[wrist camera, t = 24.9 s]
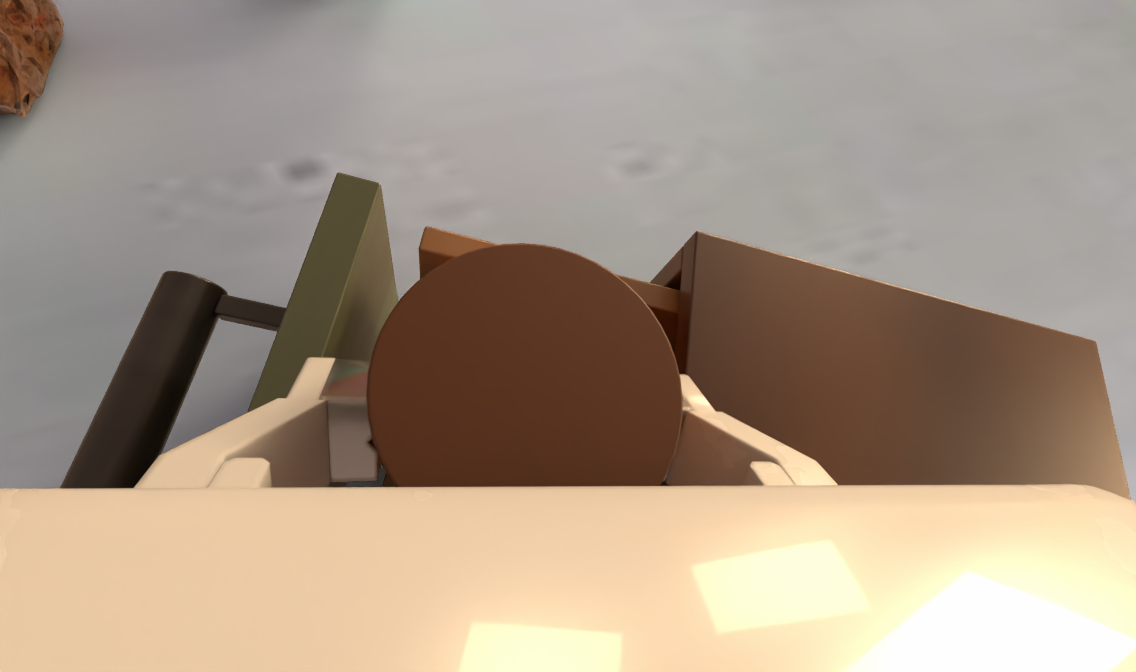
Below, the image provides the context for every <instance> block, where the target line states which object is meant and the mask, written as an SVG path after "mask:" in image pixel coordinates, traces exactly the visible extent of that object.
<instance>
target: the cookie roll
mask: <svg viewBox="0 0 1136 672" xmlns="http://www.w3.org/2000/svg"><path fill="white" fill-rule="evenodd" d="M366 402H367V417H368V422H369V427H370V432H371V437H372V440H373V443H374V446H375V448H376V451H377V454H378V457H379V460H380V462H381V463H382V465H383V467H384V469H385V471H386V473H387V475H388V477H389V479H390V480H391V482H392V483H393V485H394V486H395V487H549V486H660V485H661V483H662V481H663V479H664V478H665V476H666V474H667V472H668V470H669V467H670V465H671V462H672V460H673V458H674V455H675V451H676V448H677V444H678V440H679V437H680V430H681V423H682V404H683V397H682V388H681V379H680V374H679V370H678V366H677V362H676V358H675V356H674V353H673V350H672V347H671V344H670V342H669V340H668V338H667V336H666V334H665V332H664V330H663V328H662V326H661V324H660V323H659V321H658V320H657V318H656V317H655V315H654V314H653V312H652V311H651V309H650V308H649V307H648V306H647V304H646V303H645V302H644V301H643V300H642V298H641V297H640V296H639V295H638V294H637V293H636V292H635V291H634V290H633V289H632V288H631V287H630V286H629V285H628V284H627V283H625V282H624V281H623V280H621V279H620V278H619V277H618V276H616V275H615V274H614V273H612V272H611V271H609V270H608V269H606V268H604V267H603V266H601V265H599V264H598V263H596V262H594V261H592V260H590V259H587V258H585V257H583V256H581V255H579V254H576V253H573V252H570V251H566V250H563V249H560V248H555V247H550V246H545V245H538V244H525V243H519V244H501V245H495V246H489V247H484V248H480V249H477V250H474V251H470V252H467V253H464V254H462V255H460V256H457V257H455V258H453V259H450V260H448V261H447V262H445V263H443V264H442V265H440V266H438V267H437V268H435V269H433V270H432V271H430V272H429V273H428V274H426V275H425V276H424V277H423V278H421V279H420V280H419V281H417V282H416V283H415V284H414V285H413V286H412V287H411V288H410V289H409V290H408V291H407V292H406V293H405V294H404V296H403V297H402V298H401V299H400V300H399V302H398V303H397V305H396V306H395V307H394V309H393V310H392V311H391V313H390V314H389V316H388V318H387V320H386V321H385V323H384V325H383V327H382V329H381V331H380V333H379V335H378V338H377V341H376V343H375V346H374V349H373V351H372V356H371V360H370V365H369V369H368V376H367V388H366Z"/></svg>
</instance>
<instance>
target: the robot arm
mask: <svg viewBox="0 0 1136 672" xmlns="http://www.w3.org/2000/svg"><path fill="white" fill-rule="evenodd" d="M369 365H370V361H369V360H353V359H336V358H322V357H310V358H307V359H306V361H305V363H304V365H303V367H302V369H301V371H300V373H299V374H298V376H297V378H296V380H295V382H294V384H293V386H292V388H291V390H290V392H289V394H288V395H287V397H286V398H277V399H275V400H273V401H271V402H269V403H267V404H265V405H263V406H261V407H259V408H257V409H254V410H252V411H250V412H248V413H246V414H244V415H242V416H240V417H238V418H236V419H234V420H232V421H229V422H227V423H225V424H223V425H221V426H219V427H217V428H215V429H213V430H211V431H209V432H206V433H204V434H202V435H200V436H198V437H196V438H194V439H192V440H190V441H188V442H186V443H184V444H181V445H179V446H177V447H175V448H173V449H171V450H169V451H167V452H165V453H163V454H161V455H159V456H158V457H157V459H156V460H155V461H154V463H153V464H152V465H151V466H150V468H149V469H148V470H147V471H146V473H145V474H144V475H143V477H142V478H141V479H140V480H139V482H138V483H137V484H136V486H135V487H134V488H79V489H0V672H1136V502H1134V501H1131V500H1129V499H1126V498H1124V497H1121V496H1119V495H1116V494H1114V493H1111V492H1109V491H1106V490H1103V489H1100V488H1097V487H1094V486H1088V485H1080V484H1038V485H838V484H837V483H836V482H835V481H834V480H833V479H832V478H831V477H830V476H829V475H828V473H827V472H826V471H825V470H824V469H823V468H822V467H821V466H820V465H819V464H818V462H817V461H815V460H813V459H811V458H809V457H808V456H806V455H804V454H802V453H800V452H798V451H796V450H794V449H792V448H790V447H788V446H786V445H785V444H783V443H781V442H779V441H777V440H775V439H773V438H771V437H769V436H767V435H765V434H763V433H761V432H760V431H758V430H756V429H754V428H752V427H750V426H748V425H746V424H744V423H742V422H740V421H738V420H737V419H735V418H733V417H731V416H729V415H727V414H725V413H723V412H716V411H715V410H714V409H713V407H712V406H711V405H710V403H709V402H708V401H707V400H706V398H705V397H704V396H703V394H702V393H701V392H700V390H699V389H698V388H697V386H696V385H695V384H694V382H693V381H692V380H691V378H690V377H689V376H687V375H685V374H680V379H681V388H682V397H683V404H682V423H681V430H680V437H679V440H678V444H677V448H676V451H675V455H674V458H673V460H672V462H671V465H670V467H669V470H668V472H667V474H666V476H665V478H664V479H663V481H667V482H666V483H667V484H668V485H669V486H549V487H327V486H329V485H330V482H351V481H377V478H378V473H379V469H380V464H381V462H380V460H379V457H378V454H377V451H376V448H375V446H374V443H373V440H372V437H371V432H370V427H369V422H368V417H367V402H366V388H367V376H368V369H369Z"/></svg>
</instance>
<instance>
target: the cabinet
mask: <svg viewBox="0 0 1136 672" xmlns="http://www.w3.org/2000/svg"><path fill="white" fill-rule="evenodd" d="M650 283H652V284H656V285H660V286H664V287H667V288H671V289H675V290H679V291H680V300H679V312H678V324H677V336H676V348H675V358H676V362H677V366H678V370H679V374H685V375H687V376H689V377H690V378H691V380H692V381H693V382H694V384H695V385H696V386H697V388H698V389H699V390H700V392H701V393H702V394H703V396H704V397H705V398H706V400H707V401H708V402H709V403H710V405H711V406H712V407H713V409H714V410H715V411H716V412H723V413H725V414H727V415H729V416H731V417H733V418H735V419H737V420H738V421H740V422H742V423H744V424H746V425H748V426H750V427H752V428H754V429H756V430H758V431H760V432H761V433H763V434H765V435H767V436H769V437H771V438H773V439H775V440H777V441H779V442H781V443H783V444H785V445H786V446H788V447H790V448H792V449H794V450H796V451H798V452H800V453H802V454H804V455H806V456H808V457H809V458H811V459H813V460H815V461H817V462H818V464H819V465H820V466H821V467H822V468H823V469H824V470H825V471H826V472H827V473H828V475H829V476H830V477H831V478H832V479H833V480H834V481H835V482H836V483H837V484H838V485H1038V484H1080V485H1088V486H1094V487H1097V488H1100V489H1103V490H1106V491H1109V492H1111V493H1114V494H1116V495H1119V496H1121V497H1124V498H1126V499H1129V500H1131V497H1130V493H1129V488H1128V484H1127V479H1126V475H1125V470H1124V466H1123V461H1122V457H1121V452H1120V448H1119V443H1118V439H1117V434H1116V430H1115V425H1114V421H1113V416H1112V412H1111V407H1110V403H1109V398H1108V394H1107V389H1106V385H1105V380H1104V376H1103V371H1102V367H1101V362H1100V358H1099V353H1098V349H1097V344H1096V342H1095V341H1094V340H1090V339H1086V338H1083V337H1079V336H1075V335H1072V334H1068V333H1065V332H1061V331H1057V330H1054V329H1050V328H1047V327H1043V326H1039V325H1036V324H1032V323H1028V322H1025V321H1021V320H1018V319H1014V318H1010V317H1007V316H1003V315H999V314H996V313H992V312H989V311H985V310H981V309H978V308H974V307H970V306H967V305H963V304H960V303H956V302H952V301H949V300H945V299H942V298H938V297H934V296H931V295H927V294H923V293H920V292H916V291H913V290H909V289H905V288H902V287H898V286H894V285H891V284H887V283H884V282H880V281H876V280H873V279H869V278H865V277H862V276H858V275H855V274H851V273H847V272H844V271H840V270H837V269H833V268H829V267H826V266H822V265H818V264H815V263H811V262H808V261H804V260H800V259H797V258H793V257H789V256H786V255H782V254H779V253H775V252H771V251H768V250H764V249H761V248H757V247H753V246H750V245H746V244H742V243H739V242H735V241H732V240H728V239H724V238H721V237H717V236H713V235H710V234H706V233H703V232H699V231H696V232H695V233H694V234H693V235H692V237H691V238H690V239H689V240H688V241H687V242H686V243H685V244H684V246H683V247H682V248H681V249H680V250H679V251H678V252H677V253H676V254H675V256H674V257H673V258H672V259H671V260H670V261H669V262H668V263H667V264H666V265H665V267H664V268H663V269H662V270H661V271H660V272H659V273H658V274H657V275H656V276H655V278H654V279H653V280H652V281H651V282H650ZM666 482H667V481H664V486H669V485H668V484H667V483H666Z"/></svg>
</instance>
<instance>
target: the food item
mask: <svg viewBox="0 0 1136 672" xmlns="http://www.w3.org/2000/svg"><path fill="white" fill-rule="evenodd" d="M63 25H64V23H63V21H62V19H61V17H60V14H59V12H58V10H57V7H56V5H55V4H54V2H53V1H52V0H0V113H3V114H18V115H20V116H22V117H25V115H26V114H27V113H28V112H29V110H30V109H31V107H32V104H33V103H34V100H35V98H38V97H40V96H41V94H42V93H43V90H44V87H45V82H46V76H47V73H48V71H49V68H50V66H51V64H52V61H53V58H54V56H55V53H56V51H57V48H58V46H60V42H61V39H62V37H63Z"/></svg>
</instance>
